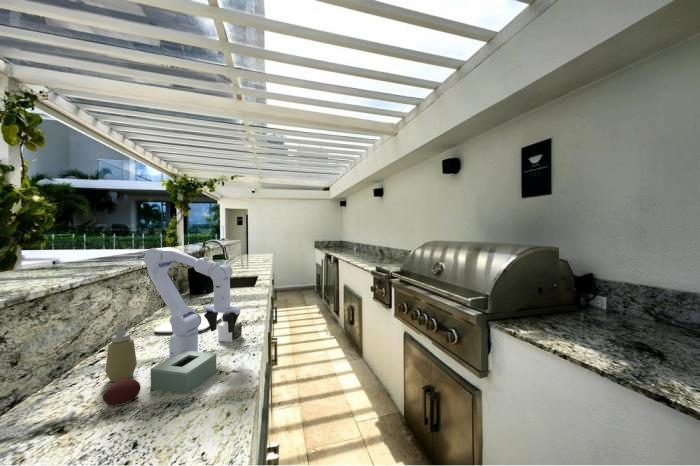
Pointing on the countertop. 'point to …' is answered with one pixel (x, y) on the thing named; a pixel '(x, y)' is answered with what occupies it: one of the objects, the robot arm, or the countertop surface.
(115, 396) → the potato
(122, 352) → the squeeze bottle
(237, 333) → the medicine bottle
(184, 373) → the box
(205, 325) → the plate
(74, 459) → the countertop surface
